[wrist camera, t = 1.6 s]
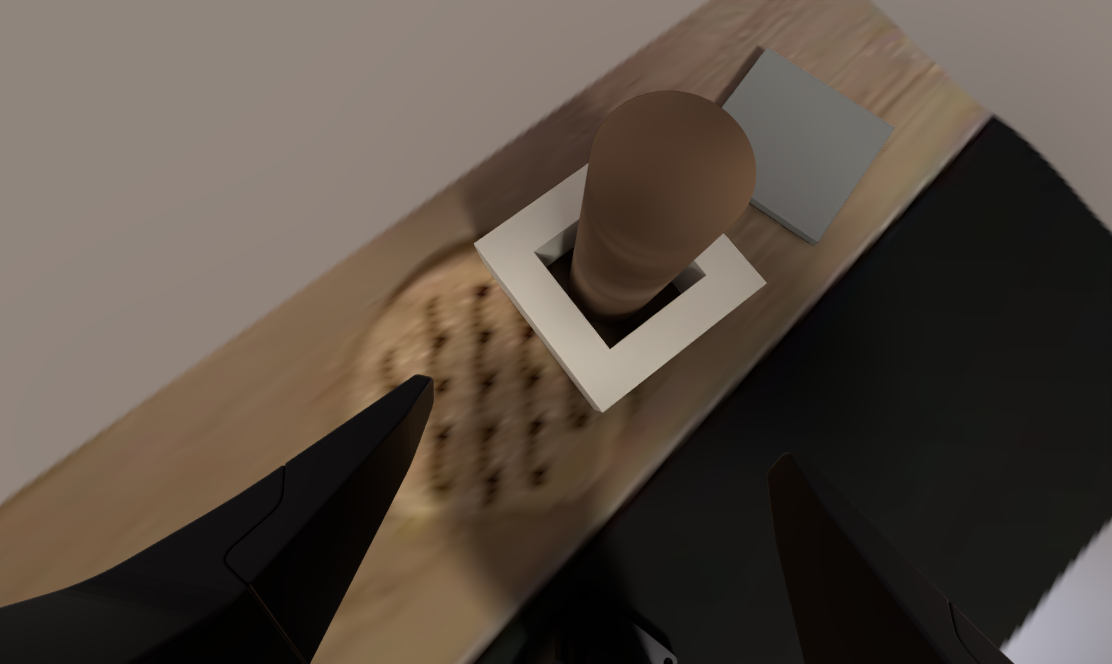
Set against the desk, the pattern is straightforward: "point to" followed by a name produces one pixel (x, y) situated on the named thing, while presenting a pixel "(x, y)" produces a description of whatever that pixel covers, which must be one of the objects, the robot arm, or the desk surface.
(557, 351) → the frame
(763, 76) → the pad
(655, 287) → the peg
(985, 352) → the desk surface
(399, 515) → the desk surface
